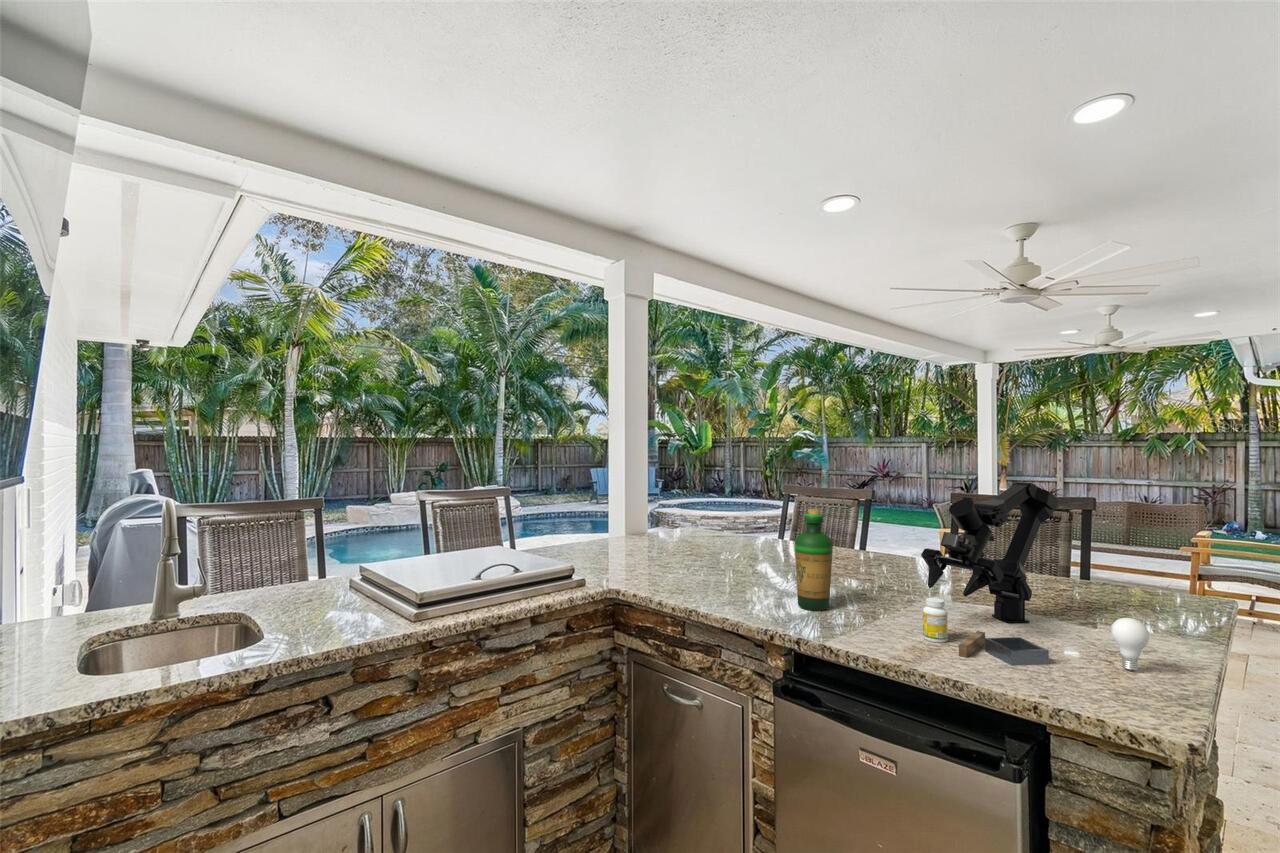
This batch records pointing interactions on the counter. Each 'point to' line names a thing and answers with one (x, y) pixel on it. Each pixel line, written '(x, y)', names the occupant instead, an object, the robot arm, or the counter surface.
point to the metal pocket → (1016, 651)
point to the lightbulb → (1130, 640)
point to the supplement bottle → (935, 620)
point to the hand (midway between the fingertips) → (946, 591)
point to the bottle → (813, 564)
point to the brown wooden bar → (971, 644)
